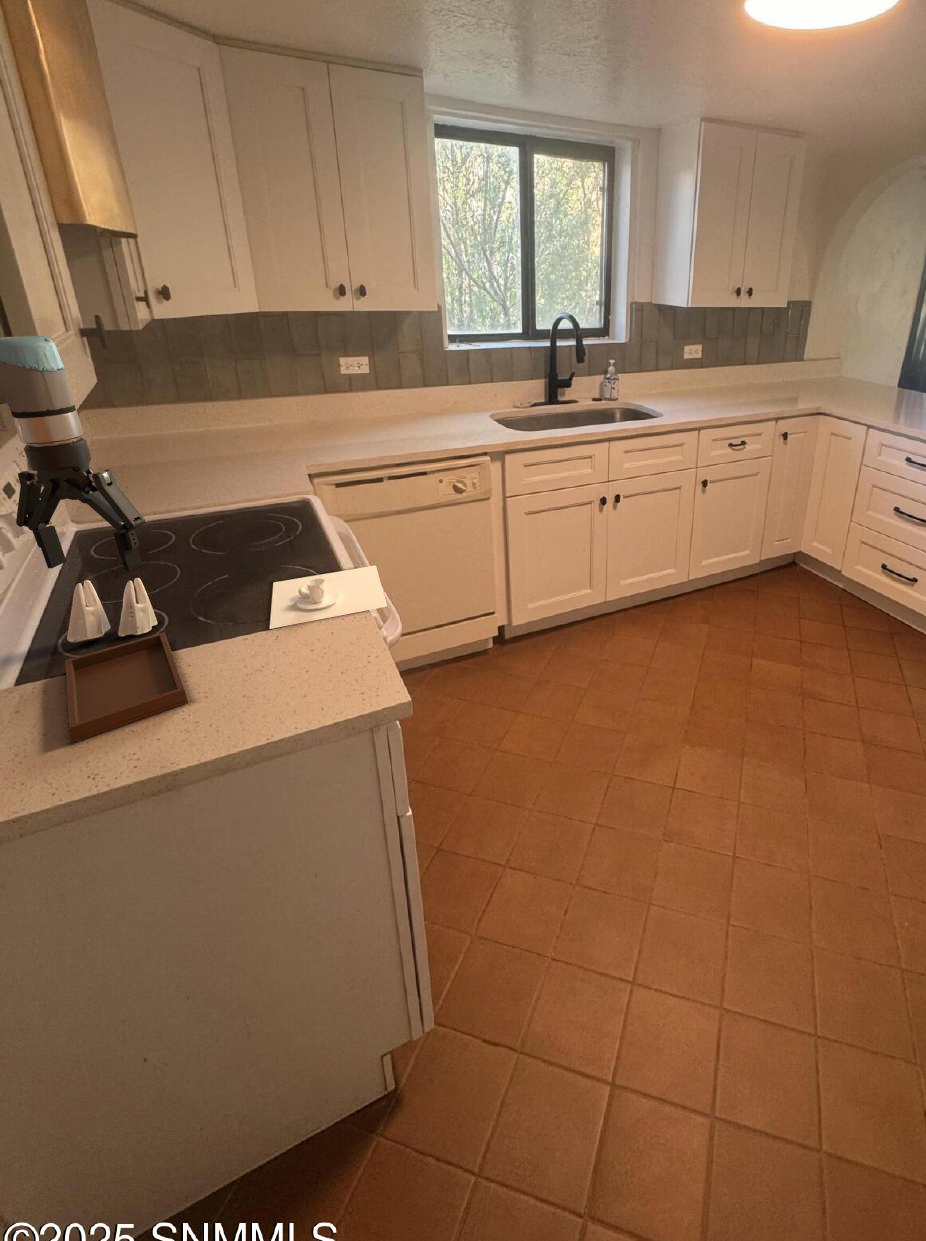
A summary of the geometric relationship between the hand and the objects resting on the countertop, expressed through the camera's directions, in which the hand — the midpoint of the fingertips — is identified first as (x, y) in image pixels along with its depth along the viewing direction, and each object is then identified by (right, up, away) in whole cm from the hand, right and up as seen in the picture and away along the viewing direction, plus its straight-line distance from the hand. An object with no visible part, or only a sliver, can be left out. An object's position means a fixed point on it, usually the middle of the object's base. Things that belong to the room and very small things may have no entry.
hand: (95, 566), depth 103 cm
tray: (+12, -18, -9) cm, 23 cm away
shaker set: (0, -13, +5) cm, 14 cm away
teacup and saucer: (+30, -7, +19) cm, 37 cm away
